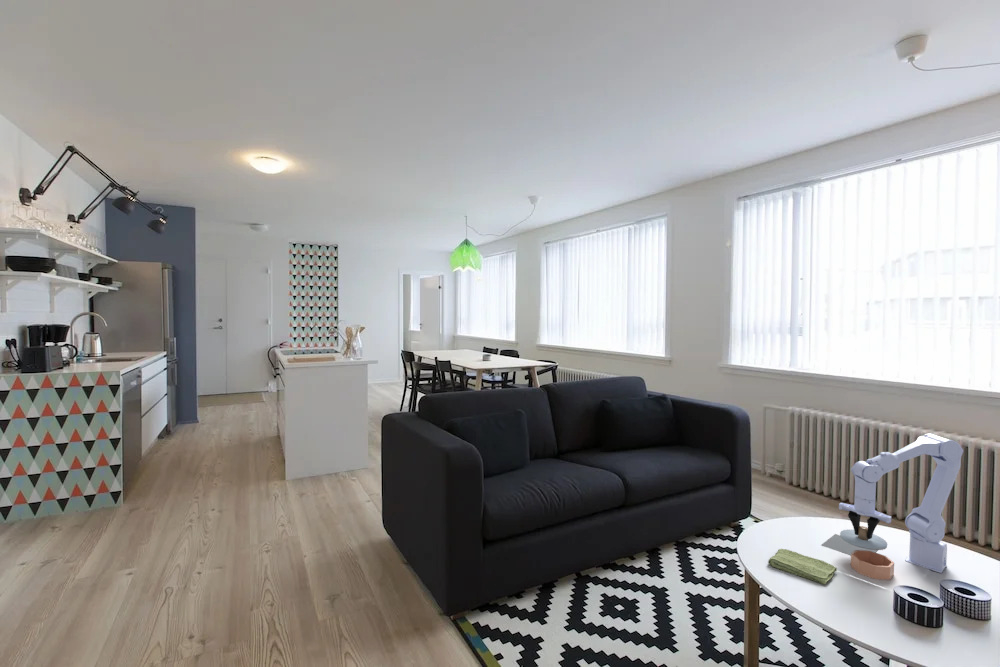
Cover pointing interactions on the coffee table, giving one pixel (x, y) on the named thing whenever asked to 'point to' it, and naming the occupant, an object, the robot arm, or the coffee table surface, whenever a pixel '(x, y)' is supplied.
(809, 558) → the washcloth
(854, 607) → the coffee table surface
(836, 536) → the mat
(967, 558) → the coffee table surface
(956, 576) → the coffee table surface
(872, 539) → the lid
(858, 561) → the bowl
